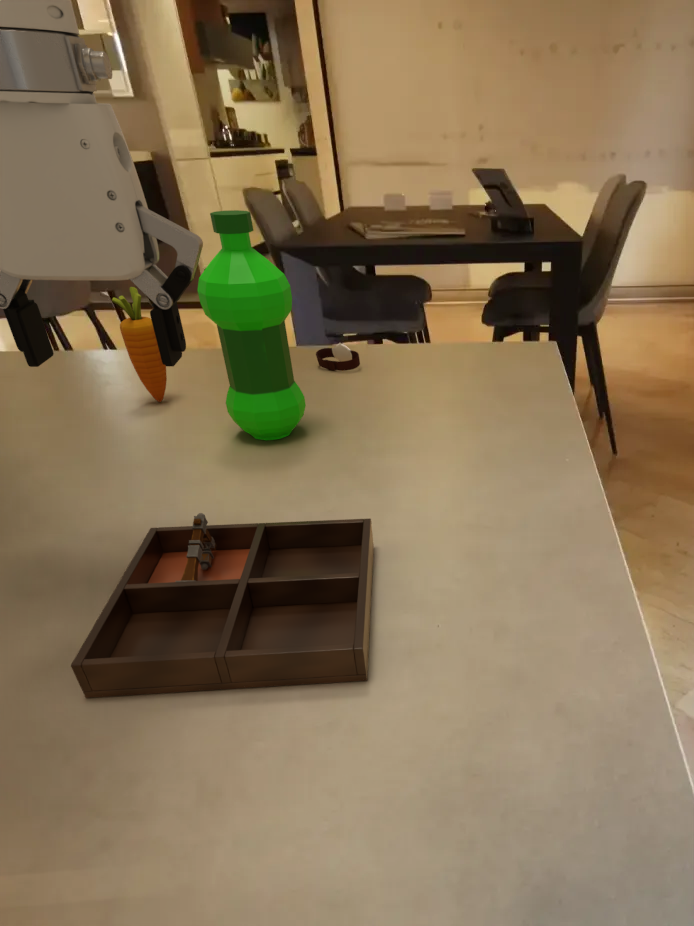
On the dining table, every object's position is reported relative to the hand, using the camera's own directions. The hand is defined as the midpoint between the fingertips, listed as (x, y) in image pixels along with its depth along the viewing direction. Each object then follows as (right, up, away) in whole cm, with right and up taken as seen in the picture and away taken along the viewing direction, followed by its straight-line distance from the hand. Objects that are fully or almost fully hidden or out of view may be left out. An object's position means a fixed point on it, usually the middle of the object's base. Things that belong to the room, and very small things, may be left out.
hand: (108, 361), depth 53 cm
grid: (+9, -19, +7) cm, 22 cm away
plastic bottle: (+1, +6, +39) cm, 40 cm away
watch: (+5, +25, +63) cm, 67 cm away
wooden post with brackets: (+3, -16, +10) cm, 19 cm away
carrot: (-19, +14, +49) cm, 54 cm away
